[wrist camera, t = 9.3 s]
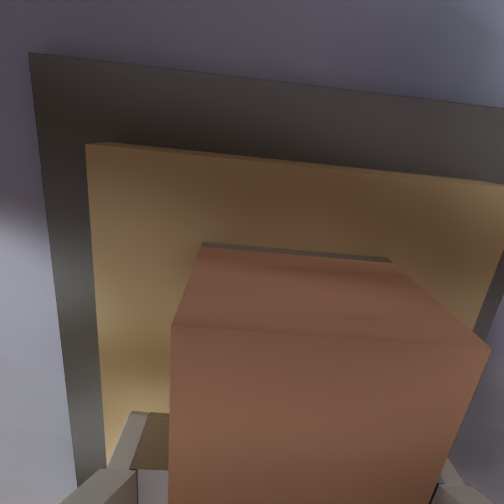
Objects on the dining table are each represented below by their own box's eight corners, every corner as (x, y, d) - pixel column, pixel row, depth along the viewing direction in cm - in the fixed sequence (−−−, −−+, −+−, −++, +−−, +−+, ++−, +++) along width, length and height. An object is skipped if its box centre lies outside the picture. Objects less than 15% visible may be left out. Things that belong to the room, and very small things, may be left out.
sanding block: (328, 487, 12) (367, 651, 8) (190, 481, 12) (164, 647, 8) (387, 257, 9) (492, 348, 5) (202, 241, 9) (171, 325, 5)
